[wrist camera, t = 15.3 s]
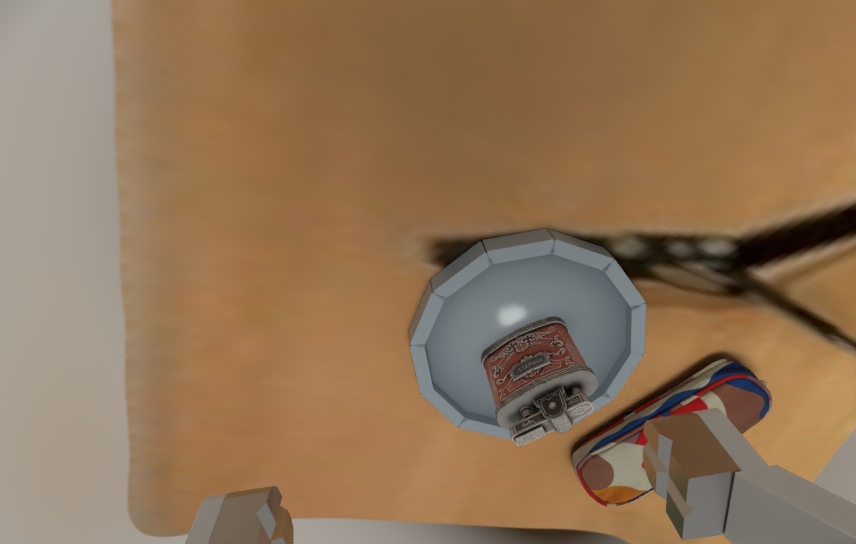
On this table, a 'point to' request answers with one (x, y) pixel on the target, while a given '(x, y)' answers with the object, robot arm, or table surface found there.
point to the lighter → (538, 380)
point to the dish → (523, 318)
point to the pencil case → (624, 441)
